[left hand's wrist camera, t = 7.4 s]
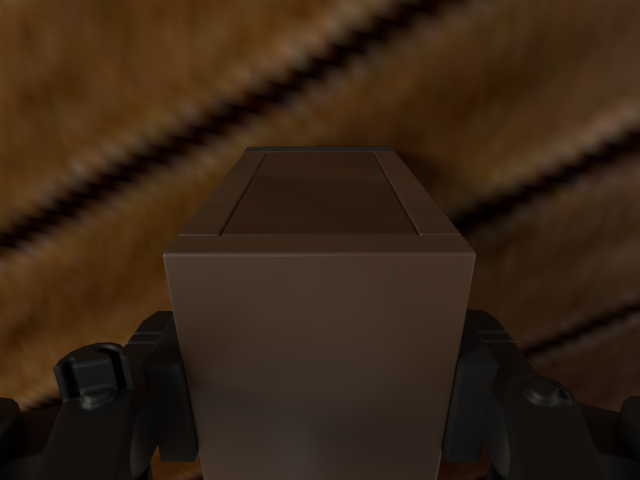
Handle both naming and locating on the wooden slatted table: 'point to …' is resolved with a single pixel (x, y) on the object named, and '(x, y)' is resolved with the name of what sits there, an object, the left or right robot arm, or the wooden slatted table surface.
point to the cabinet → (319, 317)
